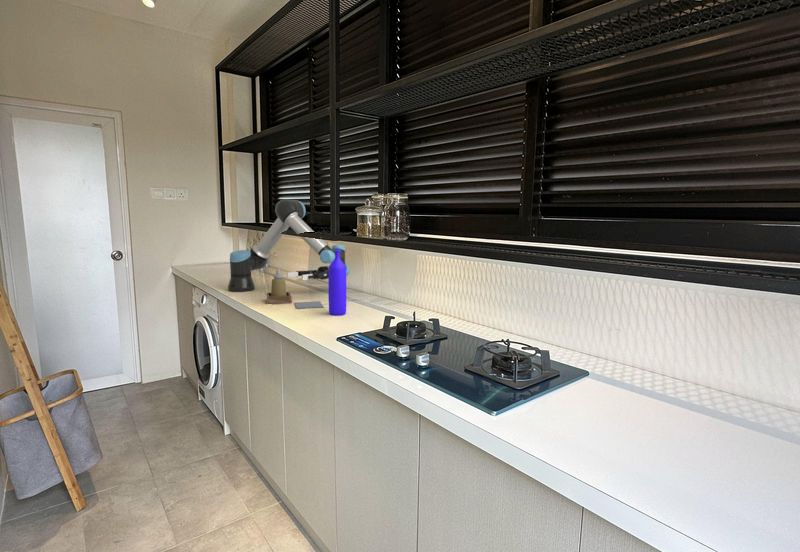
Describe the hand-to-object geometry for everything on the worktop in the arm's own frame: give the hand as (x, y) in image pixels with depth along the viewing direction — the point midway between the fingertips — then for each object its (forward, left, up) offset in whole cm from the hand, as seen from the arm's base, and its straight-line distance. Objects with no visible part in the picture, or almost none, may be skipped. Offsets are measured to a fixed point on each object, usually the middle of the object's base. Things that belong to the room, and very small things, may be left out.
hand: (294, 276), depth 223 cm
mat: (+18, +5, -13) cm, 22 cm away
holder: (+5, -9, -13) cm, 16 cm away
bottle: (+39, +16, -13) cm, 44 cm away
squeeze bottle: (+5, -9, -13) cm, 16 cm away
